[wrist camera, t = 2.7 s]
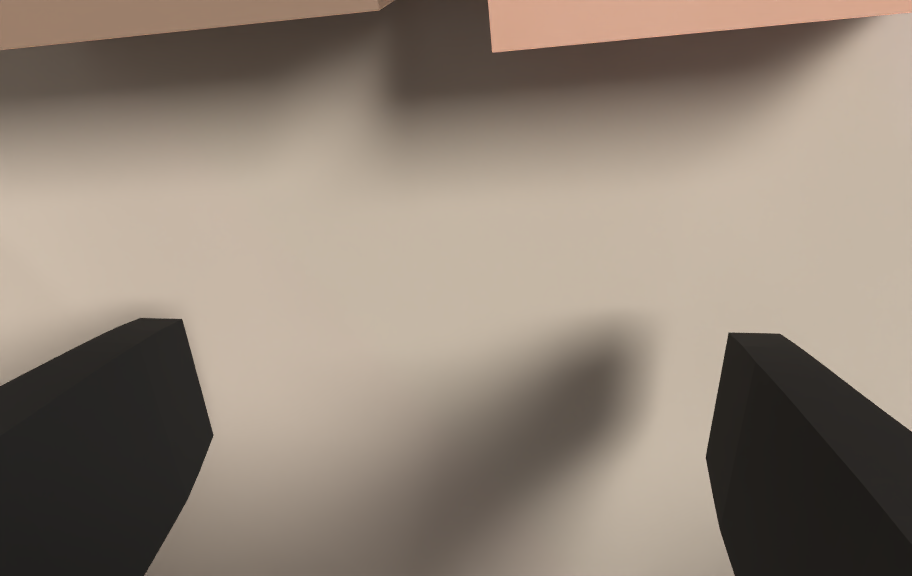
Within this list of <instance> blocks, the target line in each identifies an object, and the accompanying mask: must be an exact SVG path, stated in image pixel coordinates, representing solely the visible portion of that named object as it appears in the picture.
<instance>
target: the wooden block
mask: <svg viewBox="0 0 912 576" xmlns="http://www.w3.org/2000/svg"><path fill="white" fill-rule="evenodd" d="M393 1H395V0H0V50H7V49H17V48H26V47H36V46H45V45H55V44H65V43H74V42H84V41H93V40H103V39H112V38H122V37H131V36H141V35H150V34H160V33H169V32H179V31H188V30H198V29H208V28H217V27H227V26H236V25H246V24H255V23H265V22H274V21H284V20H293V19H303V18H312V17H322V16H331V15H341V14H351V13H360V12H370V11H379V10H381V9H383V8H384V7H386V6H387V5H389V4H390V3H392V2H393Z"/></svg>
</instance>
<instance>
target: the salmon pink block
mask: <svg viewBox="0 0 912 576" xmlns="http://www.w3.org/2000/svg"><path fill="white" fill-rule="evenodd" d="M488 8H489V20H490V32H491V44H492V53H493V52H504V51H514V50H525V49H535V48H546V47H556V46H566V45H577V44H587V43H598V42H608V41H619V40H629V39H639V38H650V37H660V36H671V35H681V34H692V33H702V32H713V31H723V30H733V29H744V28H754V27H765V26H775V25H786V24H796V23H806V22H817V21H827V20H838V19H848V18H859V17H869V16H880V15H890V14H900V13H911V12H912V0H488Z"/></svg>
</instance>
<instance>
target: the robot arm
mask: <svg viewBox="0 0 912 576" xmlns="http://www.w3.org/2000/svg"><path fill="white" fill-rule="evenodd" d="M212 438H213V432H212V428H211V424H210V421H209V417H208V413H207V410H206V406H205V402H204V398H203V395H202V391H201V387H200V384H199V380H198V376H197V373H196V369H195V365H194V361H193V358H192V354H191V350H190V347H189V343H188V339H187V335H186V332H185V328H184V324H183V321H182V319H155V318H139V319H137V320H134V321H132V322H129V323H127V324H124V325H122V326H119V327H117V328H115V329H113V330H110V331H108V332H106V333H104V334H102V335H100V336H98V337H96V338H94V339H92V340H90V341H88V342H86V343H84V344H82V345H80V346H78V347H76V348H74V349H72V350H70V351H68V352H66V353H64V354H62V355H60V356H58V357H56V358H54V359H52V360H50V361H48V362H46V363H44V364H42V365H40V366H39V367H37V368H35V369H33V370H31V371H29V372H27V373H25V374H23V375H21V376H19V377H17V378H15V379H13V380H11V381H9V382H7V383H6V384H4V385H2V386H0V576H144V575H145V573H146V571H147V570H148V568H149V566H150V564H151V563H152V561H153V559H154V558H155V556H156V554H157V552H158V551H159V549H160V547H161V545H162V544H163V542H164V540H165V538H166V537H167V535H168V533H169V531H170V530H171V528H172V526H173V524H174V523H175V521H176V519H177V517H178V516H179V514H180V512H181V510H182V508H183V507H184V505H185V503H186V501H187V499H188V497H189V495H190V492H191V490H192V488H193V485H194V483H195V481H196V478H197V476H198V474H199V471H200V469H201V466H202V464H203V461H204V458H205V456H206V453H207V451H208V448H209V446H210V443H211V440H212ZM706 461H707V466H708V472H709V477H710V482H711V488H712V493H713V498H714V503H715V508H716V513H717V518H718V522H719V527H720V531H721V534H722V537H723V541H724V544H725V547H726V550H727V553H728V556H729V559H730V562H731V565H732V568H733V571H734V574H735V576H912V432H911V431H910V430H909V429H907V428H906V427H905V426H903V425H902V424H901V423H899V422H898V421H896V420H895V419H894V418H892V417H891V416H890V415H888V414H887V413H886V412H884V411H883V410H882V409H880V408H879V407H878V406H876V405H875V404H874V403H872V402H871V401H870V400H868V399H867V398H866V397H864V396H863V395H862V394H861V393H859V392H858V391H857V390H855V389H854V388H853V387H851V386H850V385H849V384H847V383H846V382H845V381H844V380H842V379H841V378H840V377H838V376H837V375H836V374H834V373H833V372H832V371H830V370H829V369H828V368H827V367H825V366H824V365H823V364H821V363H820V362H819V361H817V360H816V359H815V358H813V357H812V356H811V355H809V354H808V353H807V352H805V351H804V350H803V349H801V348H800V347H799V346H797V345H796V344H794V343H793V342H791V341H790V340H788V339H787V338H785V337H784V336H782V335H781V334H767V333H729V334H728V339H727V345H726V350H725V356H724V361H723V366H722V372H721V377H720V383H719V388H718V393H717V399H716V404H715V410H714V415H713V421H712V426H711V431H710V437H709V442H708V448H707V453H706Z"/></svg>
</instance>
